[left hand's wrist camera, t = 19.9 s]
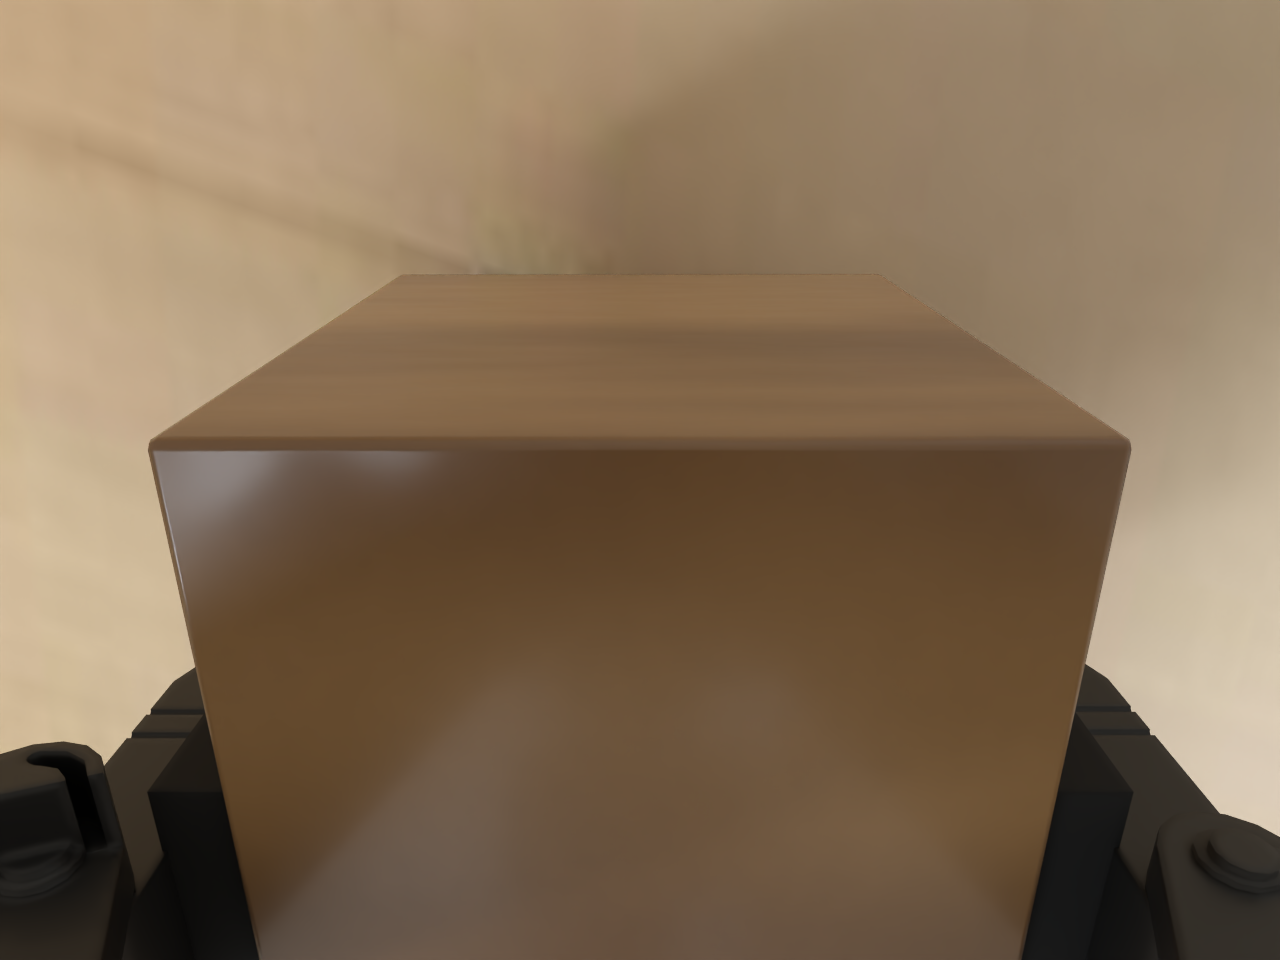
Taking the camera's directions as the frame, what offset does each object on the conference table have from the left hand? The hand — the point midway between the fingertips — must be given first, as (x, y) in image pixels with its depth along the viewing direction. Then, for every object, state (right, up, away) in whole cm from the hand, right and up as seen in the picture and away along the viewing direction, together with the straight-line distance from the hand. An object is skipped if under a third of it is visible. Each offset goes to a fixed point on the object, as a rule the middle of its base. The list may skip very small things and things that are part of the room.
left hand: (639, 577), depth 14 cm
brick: (0, 0, +1) cm, 1 cm away
